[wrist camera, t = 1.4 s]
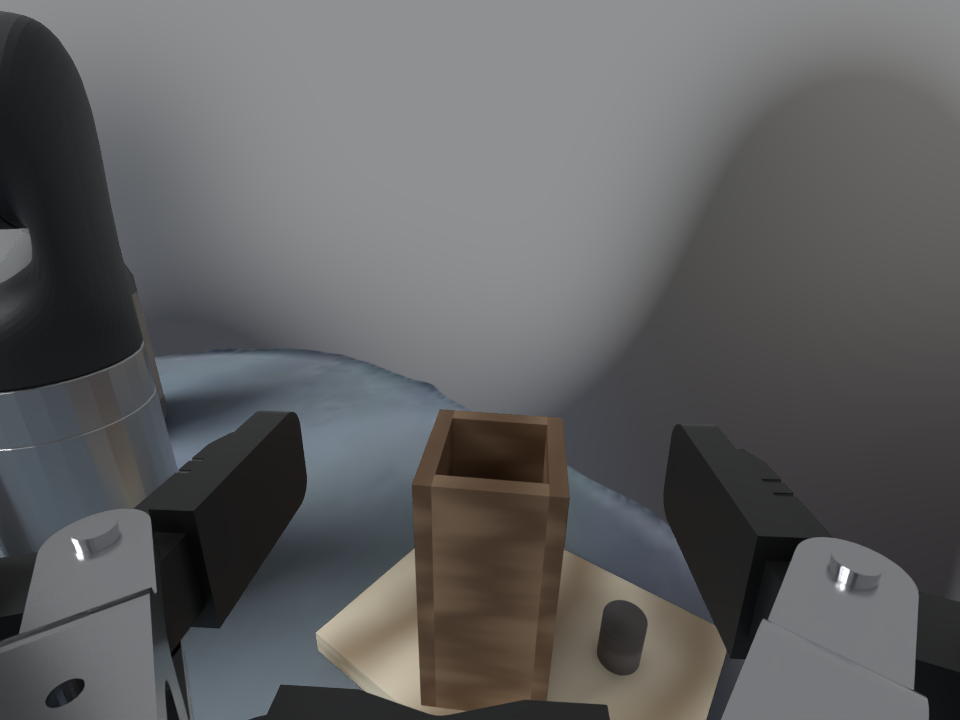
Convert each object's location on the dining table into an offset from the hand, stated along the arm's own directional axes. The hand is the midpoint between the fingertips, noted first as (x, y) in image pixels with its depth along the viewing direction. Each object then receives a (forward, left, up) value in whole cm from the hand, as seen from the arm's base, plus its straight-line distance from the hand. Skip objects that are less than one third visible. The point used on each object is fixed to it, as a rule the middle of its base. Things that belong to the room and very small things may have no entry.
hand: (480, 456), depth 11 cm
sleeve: (-6, +9, -21) cm, 23 cm away
